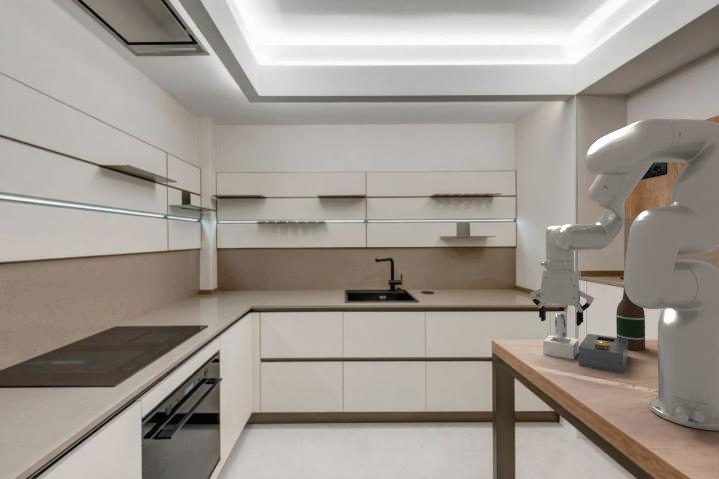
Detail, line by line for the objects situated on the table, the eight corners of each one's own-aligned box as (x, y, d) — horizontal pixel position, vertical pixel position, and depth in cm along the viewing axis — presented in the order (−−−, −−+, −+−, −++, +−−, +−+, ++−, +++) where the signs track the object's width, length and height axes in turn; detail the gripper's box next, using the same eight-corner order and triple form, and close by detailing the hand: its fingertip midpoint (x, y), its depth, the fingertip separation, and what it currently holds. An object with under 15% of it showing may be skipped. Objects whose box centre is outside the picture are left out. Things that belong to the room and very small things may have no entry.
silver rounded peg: (565, 355, 110) (564, 315, 110) (554, 353, 112) (553, 314, 112) (567, 352, 112) (566, 313, 112) (556, 350, 114) (556, 312, 114)
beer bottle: (622, 353, 114) (621, 275, 113) (611, 346, 121) (610, 273, 121) (651, 355, 112) (650, 276, 112) (638, 347, 119) (637, 273, 119)
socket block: (623, 377, 95) (622, 353, 95) (578, 368, 102) (578, 347, 102) (628, 359, 108) (627, 338, 108) (588, 352, 115) (588, 333, 115)
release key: (609, 368, 99) (608, 344, 99) (593, 365, 101) (593, 342, 101) (610, 364, 102) (610, 341, 102) (595, 361, 104) (595, 339, 104)
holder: (573, 362, 106) (573, 345, 106) (543, 357, 112) (543, 340, 112) (578, 355, 113) (578, 339, 113) (549, 350, 118) (549, 335, 118)
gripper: (526, 266, 114) (526, 321, 115) (591, 268, 103) (592, 329, 104) (532, 264, 120) (533, 316, 120) (595, 266, 109) (596, 324, 109)
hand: (560, 322), depth 112 cm, fingers open, 9 cm apart
